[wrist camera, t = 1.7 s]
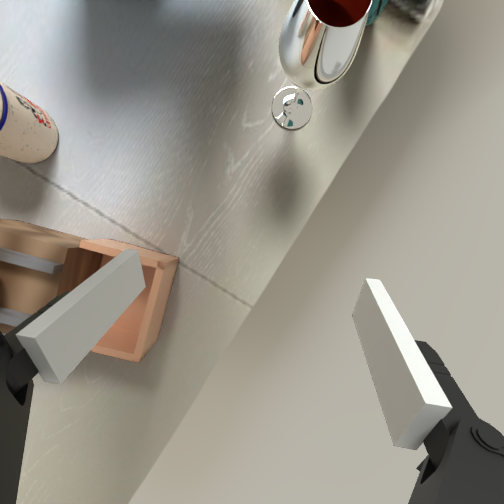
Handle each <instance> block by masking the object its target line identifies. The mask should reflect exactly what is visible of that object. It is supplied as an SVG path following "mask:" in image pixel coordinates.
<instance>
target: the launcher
mask: <svg viewBox="0 0 504 504" xmlns="http://www.w3.org/2000/svg"><path fill="white" fill-rule="evenodd" d="M81 240H88V239H85V238H81V237H77V236H74V235H70V234H66V233H63V232H59V231H55V230H52V229H48V228H44V227H41V226H37V225H33V224H30V223H26V222H22V221H19V220H7V219H0V331H1V332H3V333H9V332H10V331H11V330H13V329H14V328H15V327H17V326H18V325H19V324H21V323H22V322H23V321H25V320H26V319H27V318H29V317H30V316H31V315H33V314H34V313H37V311H38V310H39V309H41V308H42V307H43V306H46V304H47V303H49V302H50V301H51V300H53V299H54V298H55V297H57V296H59V295H61V294H63V293H65V292H67V291H72V290H74V289H75V288H76V287H77V286H79V285H80V284H81V283H83V282H84V281H85V280H86V279H88V278H89V277H90V276H92V275H93V274H94V273H95V272H97V271H98V270H99V269H100V266H101V262H102V258H103V254H102V253H99V252H95V251H91V250H87V249H84V248H80V247H79V246H80V242H81Z"/></svg>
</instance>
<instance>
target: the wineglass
mask: <svg viewBox="0 0 504 504" xmlns="http://www.w3.org/2000/svg"><path fill="white" fill-rule="evenodd" d="M371 4H372V0H294V1H293V3H292V5H291V7H290V9H289V11H288V13H287V15H286V18H285V20H284V23H283V25H282V28H281V32H280V37H279V46H278V50H279V58H280V63H281V66H282V68H283V71H284V73H285V74H286V76H287V77H288V79H289V80H290V81H291V82H292V83H293V84H295V85H296V86H297V87H294V86H290V87H286V88H283V89H282V90H280V91H279V92H278V93H277V94H276V96H275V97H274V99H273V103H272V113H273V116H274V118H275V120H276V121H277V122H278V123H279V124H280V125H281V126H283V127H285V128H287V129H297V128H300V127H302V126H303V125H305V124H306V123H307V122H308V120H309V119H310V117H311V114H312V102H311V99H310V97H309V95H308V94H307V93H306V92H305V91H304V90H309V91H317V90H322V89H325V88H328V87H330V86H332V85H333V84H335V83H336V82H338V81H339V80H340V79H341V78H342V77H343V76H344V75H345V73H346V72H347V71H348V69H349V68H350V66H351V64H352V62H353V60H354V58H355V56H356V53H357V51H358V48H359V45H360V42H361V39H362V35H363V32H364V29H365V25H366V22H367V18H368V15H369V11H370V8H371ZM303 89H304V90H303Z"/></svg>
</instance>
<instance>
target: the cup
mask: <svg viewBox="0 0 504 504" xmlns="http://www.w3.org/2000/svg"><path fill="white" fill-rule="evenodd" d="M79 247H80V248H84V249H87V250H91V251H95V252H99V253H102V254H103V258H102V262H101V266H100V269H101V268H102V267H103V266H104V265H106V264H107V263H108V262H110V261H111V260H112V259H113V258H115V257H116V256H117V255H119V254H120V253H121V252H122V251H124V250H125V249H134V250H138V251H139V256H140V261H141V266H142V271H143V276H144V281H145V286H146V287H145V288H144V289H143V291H142V292H141V293H140V294H139V295H138V296H137V297H136V299H135V300H134V301H133V302H132V303H131V304H130V306H129V307H128V308H127V309H126V310H125V311H124V312H123V314H122V315H121V316H120V317H119V318H118V319H117V320H116V322H115V323H114V324H113V325H112V326H111V327H110V328H109V330H108V331H107V332H106V333H105V334H104V335H103V337H102V338H101V339H100V340H99V341H98V342H97V343H96V345H95V346H94V347H93V348H92V349H91V350H90V351H91V352H95V353H100V354H104V355H108V356H112V357H116V358H120V359H124V360H129V361H133V362H137V363H140V361H141V360H142V359H143V357H144V356H145V355H146V354H147V352H148V351H149V350H150V349H151V347H152V346H153V345H154V344H155V342H156V341H157V339H158V335H159V332H160V328H161V324H162V321H163V317H164V313H165V309H166V306H167V302H168V298H169V295H170V291H171V287H172V283H173V280H174V276H175V272H176V269H177V265H178V261H179V258H178V257H174V256H171V255H167V254H163V253H160V252H156V251H153V250H149V249H145V248H142V247H138V246H134V245H131V244H127V243H123V242H120V241H116V240H112V239H91V240H81V242H80V246H79Z"/></svg>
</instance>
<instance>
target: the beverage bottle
mask: <svg viewBox="0 0 504 504" xmlns="http://www.w3.org/2000/svg"><path fill="white" fill-rule="evenodd" d="M388 2H390V0H372V4H371V8H370V11H369V15H368V18H367V22H366V25H365V26H367V25H369V24H371V23H372V22H374V21H375V20H377V19H378V17H379V15H380V14H381V12H382V10H383V9H384V8H385V6H386V5H387V3H388Z"/></svg>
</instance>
